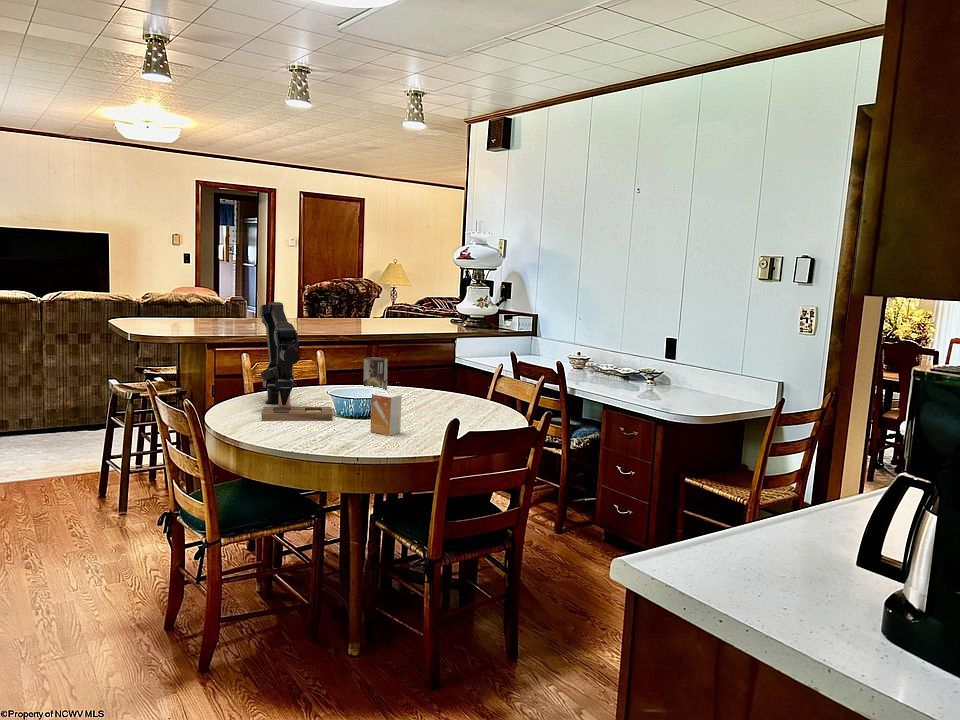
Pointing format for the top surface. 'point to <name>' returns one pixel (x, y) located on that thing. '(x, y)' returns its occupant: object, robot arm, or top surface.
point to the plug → (286, 402)
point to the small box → (386, 413)
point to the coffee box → (375, 372)
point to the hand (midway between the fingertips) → (284, 402)
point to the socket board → (297, 414)
